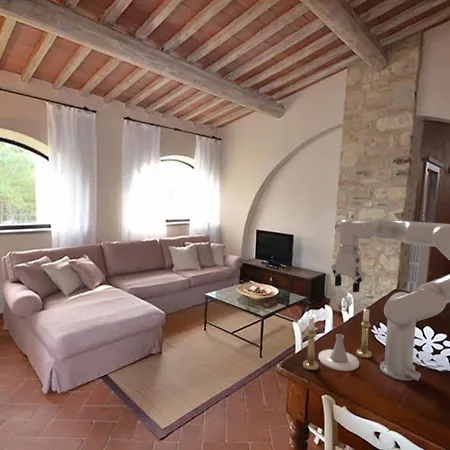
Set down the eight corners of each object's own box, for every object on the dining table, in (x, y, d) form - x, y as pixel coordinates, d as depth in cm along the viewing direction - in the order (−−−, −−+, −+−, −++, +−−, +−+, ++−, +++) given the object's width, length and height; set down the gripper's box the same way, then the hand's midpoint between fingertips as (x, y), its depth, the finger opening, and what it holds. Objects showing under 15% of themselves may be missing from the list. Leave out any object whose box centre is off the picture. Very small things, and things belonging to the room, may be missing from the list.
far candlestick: (374, 356, 135) (377, 311, 133) (363, 359, 133) (366, 313, 131) (363, 350, 141) (366, 306, 139) (353, 352, 139) (355, 308, 137)
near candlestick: (321, 368, 125) (322, 319, 123) (310, 372, 122) (311, 322, 120) (310, 361, 130) (311, 314, 128) (299, 365, 127) (300, 317, 125)
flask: (349, 364, 127) (350, 340, 126) (330, 362, 129) (332, 338, 128) (346, 355, 134) (347, 332, 133) (328, 353, 136) (329, 331, 135)
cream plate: (368, 366, 127) (368, 364, 127) (336, 374, 121) (336, 372, 121) (339, 348, 142) (339, 347, 142) (310, 354, 136) (310, 353, 136)
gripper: (372, 251, 126) (370, 293, 128) (339, 245, 142) (337, 282, 143) (359, 253, 123) (356, 295, 125) (326, 246, 139) (325, 284, 140)
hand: (346, 288), depth 134 cm, fingers open, 9 cm apart
